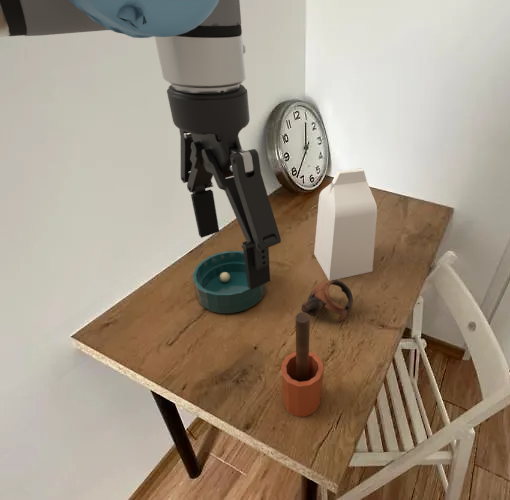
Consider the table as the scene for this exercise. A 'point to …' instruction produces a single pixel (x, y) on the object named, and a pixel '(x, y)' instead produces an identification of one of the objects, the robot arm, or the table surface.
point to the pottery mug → (327, 300)
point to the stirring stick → (302, 346)
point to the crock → (302, 386)
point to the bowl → (225, 284)
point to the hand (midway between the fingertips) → (232, 256)
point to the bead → (224, 277)
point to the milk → (346, 226)
